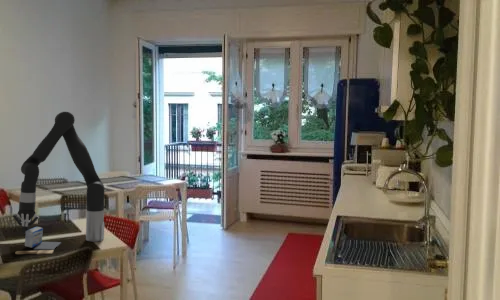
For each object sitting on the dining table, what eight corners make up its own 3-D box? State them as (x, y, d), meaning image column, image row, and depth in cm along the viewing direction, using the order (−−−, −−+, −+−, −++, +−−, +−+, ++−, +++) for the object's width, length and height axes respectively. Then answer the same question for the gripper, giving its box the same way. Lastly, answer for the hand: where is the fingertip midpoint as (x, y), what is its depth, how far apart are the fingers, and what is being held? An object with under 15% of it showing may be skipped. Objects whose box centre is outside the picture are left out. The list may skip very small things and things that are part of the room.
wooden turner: (53, 251, 218) (53, 249, 218) (52, 253, 214) (52, 251, 214) (17, 252, 214) (17, 250, 213) (14, 255, 209) (14, 253, 209)
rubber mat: (61, 243, 232) (61, 242, 232) (53, 250, 220) (53, 249, 220) (42, 242, 231) (42, 241, 231) (33, 249, 219) (33, 248, 219)
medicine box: (31, 248, 220) (33, 232, 219) (24, 246, 221) (25, 230, 219) (42, 242, 228) (43, 227, 226) (34, 241, 229) (36, 225, 227)
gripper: (43, 200, 226) (41, 232, 227) (17, 198, 225) (15, 230, 225) (37, 202, 219) (35, 235, 219) (11, 200, 217) (8, 234, 218)
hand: (25, 233), depth 222 cm, fingers closed
